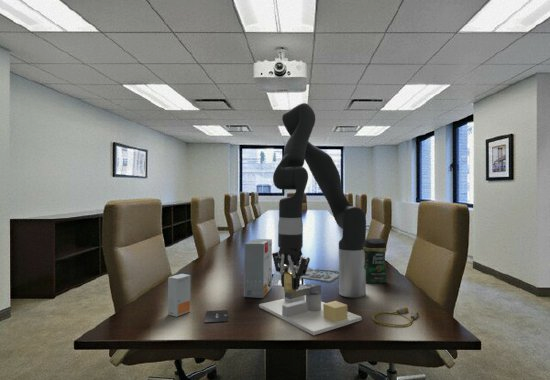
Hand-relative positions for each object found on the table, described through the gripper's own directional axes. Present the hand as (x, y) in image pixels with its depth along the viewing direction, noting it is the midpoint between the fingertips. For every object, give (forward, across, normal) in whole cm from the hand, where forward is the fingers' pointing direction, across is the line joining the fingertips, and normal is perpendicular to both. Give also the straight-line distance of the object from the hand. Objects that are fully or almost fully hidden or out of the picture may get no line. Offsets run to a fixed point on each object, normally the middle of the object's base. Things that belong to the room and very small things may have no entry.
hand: (290, 287), depth 104 cm
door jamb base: (+9, -1, -7) cm, 12 cm away
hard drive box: (+10, +28, -12) cm, 32 cm away
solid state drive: (+10, +18, +14) cm, 25 cm away
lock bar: (+3, -1, -5) cm, 6 cm away
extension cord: (+10, -24, -22) cm, 34 cm away
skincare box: (+10, +29, +21) cm, 37 cm away
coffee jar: (+10, +2, -57) cm, 58 cm away
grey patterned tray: (+11, +29, -50) cm, 59 cm away
